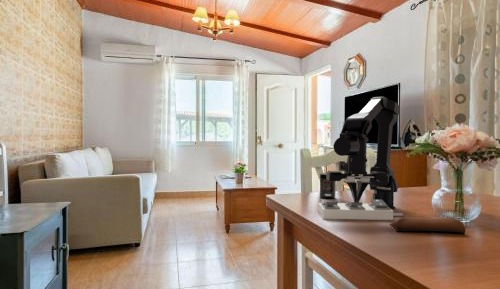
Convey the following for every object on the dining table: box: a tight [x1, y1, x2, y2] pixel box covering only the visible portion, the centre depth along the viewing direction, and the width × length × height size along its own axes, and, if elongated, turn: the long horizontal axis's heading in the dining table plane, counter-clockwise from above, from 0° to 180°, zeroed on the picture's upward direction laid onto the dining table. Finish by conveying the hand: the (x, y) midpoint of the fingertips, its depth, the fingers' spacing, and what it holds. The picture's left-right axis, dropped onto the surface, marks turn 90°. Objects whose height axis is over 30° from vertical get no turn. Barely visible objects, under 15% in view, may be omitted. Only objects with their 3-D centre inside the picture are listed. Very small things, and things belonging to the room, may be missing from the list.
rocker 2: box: [370, 198, 388, 208], centre depth 102 cm, size 4×5×1 cm
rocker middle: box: [346, 200, 363, 205], centre depth 103 cm, size 4×5×1 cm
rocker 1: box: [323, 200, 339, 205], centre depth 103 cm, size 4×5×1 cm
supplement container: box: [319, 172, 337, 200], centre depth 134 cm, size 7×7×10 cm
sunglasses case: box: [388, 216, 466, 235], centre depth 88 cm, size 18×7×7 cm
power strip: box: [317, 202, 404, 221], centre depth 104 cm, size 27×10×4 cm, turn 87°
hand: (356, 202), depth 101 cm, fingers closed, pressing on rocker middle
